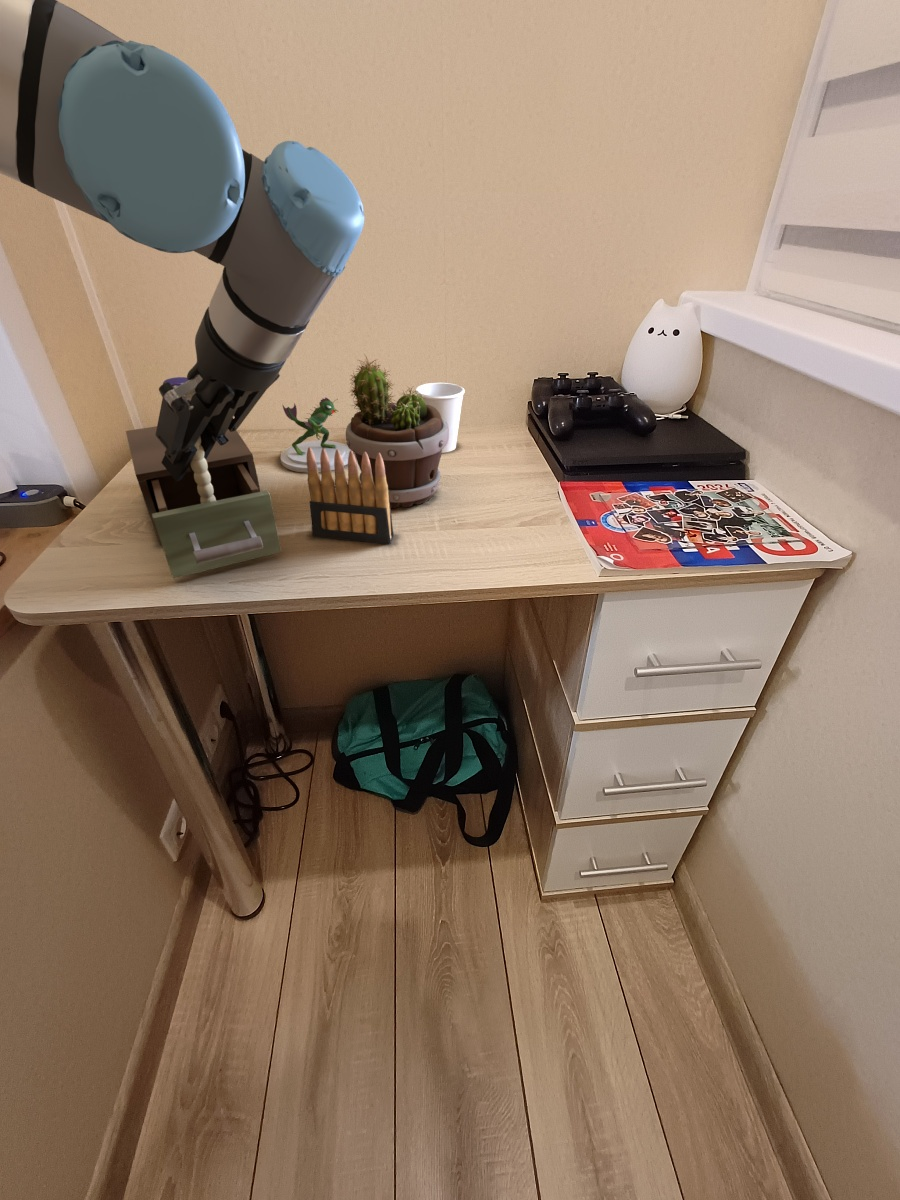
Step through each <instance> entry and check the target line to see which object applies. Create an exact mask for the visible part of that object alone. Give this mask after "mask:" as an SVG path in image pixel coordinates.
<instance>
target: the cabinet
mask: <svg viewBox="0 0 900 1200" xmlns="http://www.w3.org/2000/svg"><path fill="white" fill-rule="evenodd" d="M156 430H157V425H156V426H150V427H143V428H137V429H136V428H135V429H130V430H126V431H125V434H126V438H127V443H128V448H129V452H130V456H131V461H132V465H133V469H134V470H133V471H134V474H135V477H136V480H137V483H138V486H139V489H140V492H141V494H142V497H143V500H144V501H143V502H144V503H145V506H146V509H147V513H148V515H149V519H150V521H151V524H152V527H153V530H154V532H155V535H156V538H157V541H158V544H159V546H162V544H161V541H160V538H159V535H158V532H157V529H156V526H155V523H154V520H153V517H152V514H153V513H158V512H160V511H159V508H158V504H157V501H156V497H155V493H154V490H153V486H152V482H151V479H154V478H159V477H165V476H170V475H171V474H170V473H169V472H168V470H167V469H166V468H165V467H164V465H163V464H162V463H161V462H162V460H163V458H164V456H165V451H166V448H165V446H164V445H163V444H162V443H161V441H160V440H159V439H158V438H157V436H156ZM225 436H226V437H227V438H228V440H229V441H228V442H227V443H226V444H224V445H220V444H219V443H218V442H217V441H216V442H215V444H214V446H213V448H212V450H211V451H210V453H209V455H208V457H207V459H206V461H207V464H208V469H209V468H214V467H220V466H225V465H231V464H236V463H243V465H244V467H245V468H246V470H247V472H248V473H249V475H250V476H251V478H252V480H253V481H254V483H255V485H256V486H257V488H258V490H259V492H261V487H260V483H259V478H258V474H257V469H256V463H255V458H254V454H253V453H252V451H251V449H250V448H249V447H248V445H247V443H246V442H245V441H244V439H243V438H242V436H241V435H240V433H239V432H238V429H237V430H236V431H233V432H230V431H229V429H228V430H227V431H226V433H225ZM187 472H192V471H191V470H190V469H189V468H188V469H187V471H186V472H185V473H187Z"/></svg>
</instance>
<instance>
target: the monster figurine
mask: <svg viewBox="0 0 900 1200" xmlns="http://www.w3.org/2000/svg"><path fill="white" fill-rule="evenodd" d="M338 399H339V398H337V399H335V401H337V400H338ZM335 401H331V400H330V399H329V398H328V397H324V398H322V399H320V401H319V405H318V404H316V406H317V407H315V406H314V407H313V408H314V410H313V409H311V411H312V413H306V414H308V415H310V417H309V418H308V417H305V420H307V421H305V420H304V421H302V420H299V419H298V408H297V405H296V403H295V402H294V403H293V407H290V406H287V407H285V405H282V409H283V412H284V414H285V416H286V417H287V418H288V419H289V420H290V421H293V422H295V424H296V425H297V426H298V427H300V428H303V429H304V430H306V431H305V432H304V433H303V434H302V435H300V436H299V437H298V438H297V439H296V440H294V442H292V443H291V446H289V447H287V448H285V449H284V450H283V451H282V452H281V454H280V458H279V459H280V463H281V465H282V466H283V467H284V468H286V469H287V470H290V471H293V472H296V473H306V474H308V471H307V470H308V469H307V450H308V448H309V447H310V448H311V449H312V451H313V454H314V456H315V460H316V464H317V469H318V473H321V465H320V457H321V451H322V449H323V448H324V449H325V451H326V453H327V455H328V458H329V462H330V467H331V472H332V471H335V469H334V457H335V452H336V450H337V449H338V450H339V452H340V454H341V457H342V460H343V464H344V467H346V466H348V456H349V452H350V451H352V450H350V449H349V447H348V445H347V444H346V443H343V442H338V441H332V440H329V437H330V431H329V430H328V429H327V428H326V427H324V426H323V423H324V424H325V422H326V421H327V420H328V417H330V416H331V417H332V416H333V414H335V413H337V412H338V409H336V408H335V404H334V403H335ZM320 434H322V437H321V436H320ZM313 436H315V437H316V439H318V440H311V441H310V440H309V441H305V440H307V439H308V438H311V437H313ZM320 439H321V440H320ZM352 452H353V451H352Z"/></svg>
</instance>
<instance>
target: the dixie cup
mask: <svg viewBox="0 0 900 1200" xmlns="http://www.w3.org/2000/svg"><path fill="white" fill-rule="evenodd" d="M419 390H420V393H421V394H420V393H419ZM414 391H416V392H417V391H418V392H417V393H416V392H414V393H416V395H418V396H420V397H421V395H422V397H423V401H424V402H425V404H426V405H431V406H433V407H435V408H436V409H437V410H438V411H439V413H440V415H441V417H442V418H443V419H444V420H445V421H446V422H447V424H448V427H449V440H448V443H447V445H446V446H445V447H444V448H443V449H442V453H449V452H452V451H454V450H456V448H457V442H458V435H459V427H460V419H461V412H462V404H463V398H464V394H465V389H464V387H463V386H461V385H459V384H456V383H451V382H429V383H428V382H427V383H424V384H421V385H419V386H416V388H415V389H414ZM419 394H420V395H419ZM424 398H425V399H424ZM442 453H441V454H442Z"/></svg>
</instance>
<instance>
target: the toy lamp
mask: <svg viewBox="0 0 900 1200" xmlns="http://www.w3.org/2000/svg"><path fill="white" fill-rule="evenodd" d="M186 381H187V376H177V377H171V378H167V379H165V380H164V381H163V382H162V385H163V384H164V383H170V384H171V385H172V386H175V385H177V386H180V385H181V384H183V383H185V382H186ZM194 446H195V447H196V448H197V452H196V454H195V455H194V457H193V459H192V461H191V463H190V464H191V468H192V470H193V471H194V479H195V482H196V483H197V484H198V485H197V490H198V493H199V495H200V496H201V498H200V501H201V504H202V503H207V502H212V501H216V498H215V496H214V495H213V493H214V489H213V486H212V484H211V483H210V482H211V477H210V474H209V472H208V471H207V469H208V464H207V461H206V459H205V458H204V449H203V447H202V446H201V437H199V439H198V440H197V442H196V443H195V445H194Z"/></svg>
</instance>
